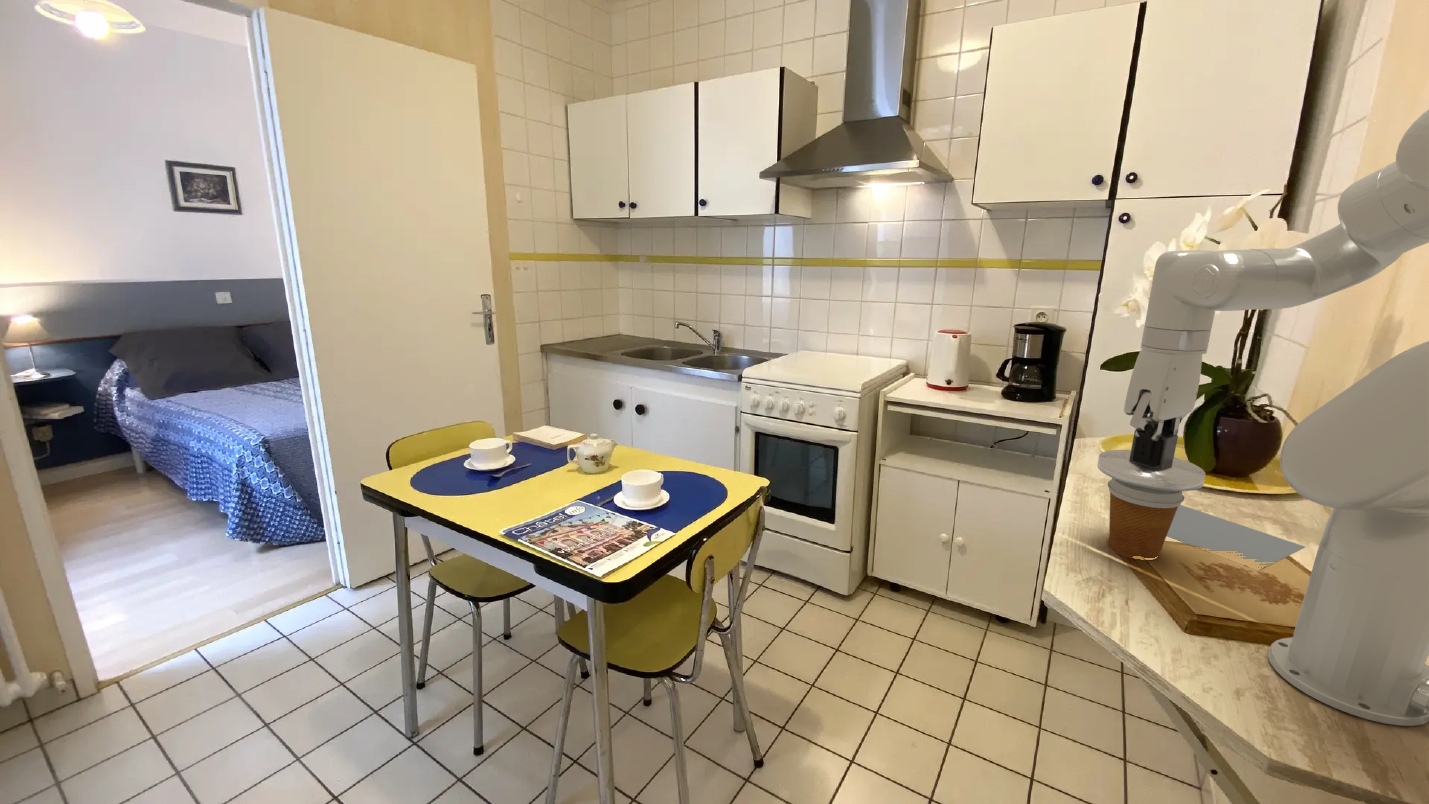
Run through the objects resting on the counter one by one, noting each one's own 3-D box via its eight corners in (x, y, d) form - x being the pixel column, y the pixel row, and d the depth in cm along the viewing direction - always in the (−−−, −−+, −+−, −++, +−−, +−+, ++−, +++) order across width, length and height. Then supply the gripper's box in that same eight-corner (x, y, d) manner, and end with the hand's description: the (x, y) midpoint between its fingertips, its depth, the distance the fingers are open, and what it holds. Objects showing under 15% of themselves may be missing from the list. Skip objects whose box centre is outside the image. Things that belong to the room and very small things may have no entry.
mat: (1304, 550, 93) (1305, 546, 92) (1257, 574, 86) (1258, 570, 86) (1163, 502, 110) (1164, 499, 110) (1115, 519, 103) (1116, 516, 103)
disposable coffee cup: (1099, 560, 91) (1112, 488, 87) (1094, 533, 99) (1106, 467, 95) (1176, 575, 86) (1192, 500, 83) (1164, 546, 94) (1178, 477, 91)
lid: (1221, 480, 86) (1231, 438, 84) (1172, 498, 80) (1181, 453, 79) (1128, 453, 97) (1134, 415, 96) (1079, 467, 92) (1085, 427, 90)
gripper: (1176, 332, 90) (1154, 445, 95) (1113, 341, 83) (1092, 463, 88) (1235, 339, 84) (1209, 460, 89) (1172, 349, 77) (1147, 480, 81)
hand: (1151, 460), depth 88 cm, fingers closed on lid, 2 cm apart
